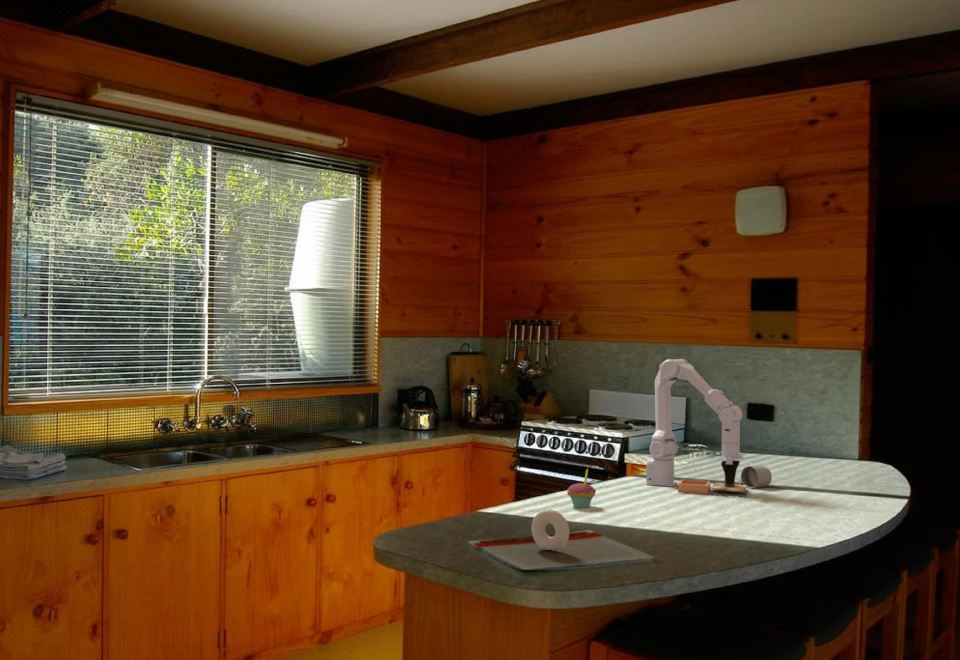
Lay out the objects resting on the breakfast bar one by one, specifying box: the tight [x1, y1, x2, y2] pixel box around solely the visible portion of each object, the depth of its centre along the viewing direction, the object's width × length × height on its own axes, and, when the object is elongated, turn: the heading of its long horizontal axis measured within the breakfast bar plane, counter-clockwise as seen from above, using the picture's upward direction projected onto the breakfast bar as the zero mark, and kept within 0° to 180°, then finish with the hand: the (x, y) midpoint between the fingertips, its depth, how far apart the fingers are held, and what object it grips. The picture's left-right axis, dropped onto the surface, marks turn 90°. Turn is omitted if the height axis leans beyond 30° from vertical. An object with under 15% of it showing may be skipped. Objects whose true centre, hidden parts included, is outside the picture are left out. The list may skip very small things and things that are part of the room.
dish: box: [677, 478, 711, 495], centre depth 294 cm, size 10×10×3 cm
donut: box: [530, 508, 570, 552], centre depth 211 cm, size 10×4×10 cm, turn 56°
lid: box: [711, 478, 747, 492], centre depth 291 cm, size 10×10×5 cm
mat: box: [711, 489, 749, 498], centre depth 291 cm, size 11×13×1 cm
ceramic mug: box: [738, 465, 773, 489], centre depth 304 cm, size 11×8×8 cm
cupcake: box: [566, 467, 597, 509], centre depth 266 cm, size 9×8×12 cm
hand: (730, 483), depth 291 cm, fingers closed on lid, 3 cm apart
